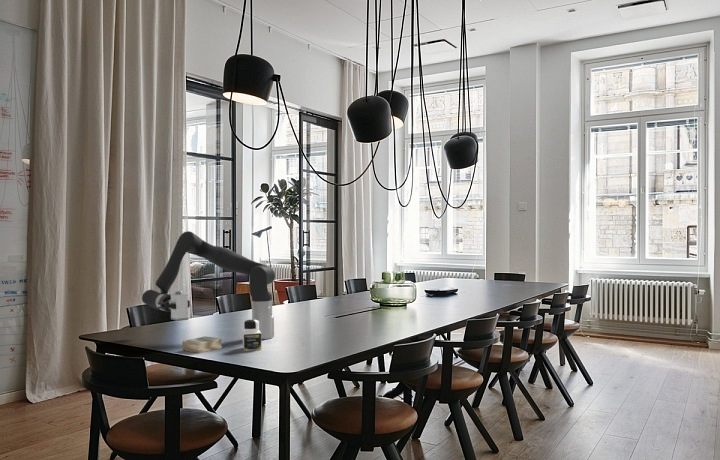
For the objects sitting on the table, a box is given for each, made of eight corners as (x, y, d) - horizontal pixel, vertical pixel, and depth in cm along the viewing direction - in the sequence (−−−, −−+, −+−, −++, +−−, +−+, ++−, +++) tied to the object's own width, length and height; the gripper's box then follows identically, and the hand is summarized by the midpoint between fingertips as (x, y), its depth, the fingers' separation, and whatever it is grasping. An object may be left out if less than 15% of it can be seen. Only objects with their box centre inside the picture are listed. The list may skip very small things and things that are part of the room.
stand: (205, 345, 251) (205, 335, 251) (221, 348, 245) (221, 338, 245) (182, 350, 241) (182, 340, 241) (198, 353, 235) (198, 342, 235)
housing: (170, 319, 251) (170, 291, 251) (182, 318, 254) (181, 290, 254) (177, 321, 246) (176, 292, 246) (188, 319, 249) (187, 291, 249)
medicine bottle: (244, 351, 238) (243, 321, 238) (242, 347, 245) (242, 319, 245) (261, 349, 240) (261, 320, 240) (259, 346, 247) (259, 318, 247)
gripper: (150, 295, 257) (165, 298, 243) (182, 292, 266) (197, 295, 253) (151, 312, 257) (165, 316, 243) (182, 309, 266) (198, 313, 253)
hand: (181, 306), depth 248 cm, fingers closed on housing, 5 cm apart
